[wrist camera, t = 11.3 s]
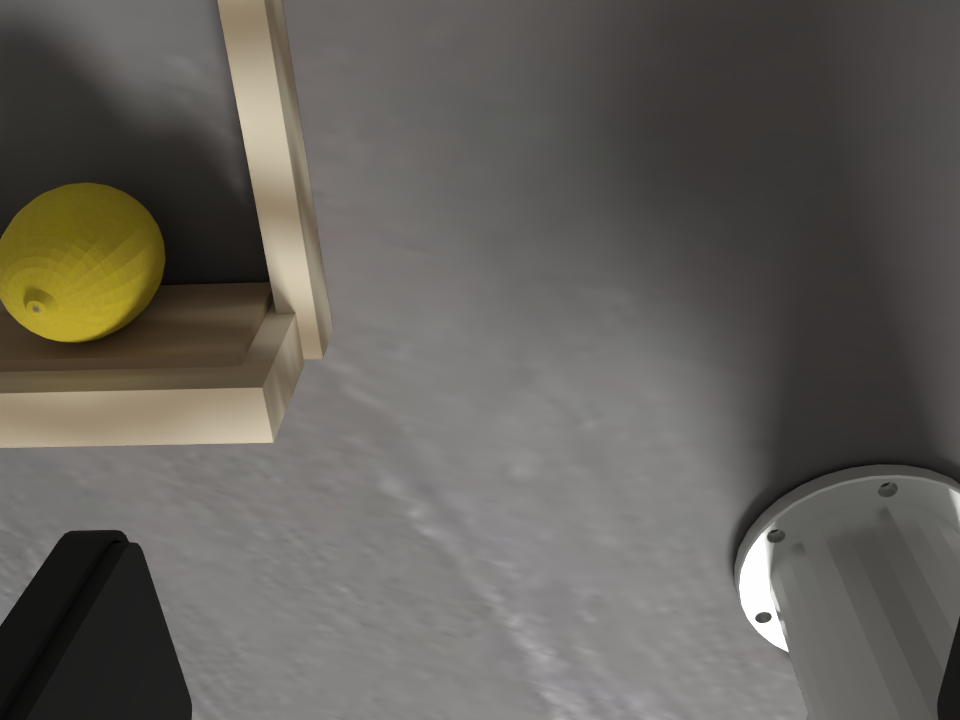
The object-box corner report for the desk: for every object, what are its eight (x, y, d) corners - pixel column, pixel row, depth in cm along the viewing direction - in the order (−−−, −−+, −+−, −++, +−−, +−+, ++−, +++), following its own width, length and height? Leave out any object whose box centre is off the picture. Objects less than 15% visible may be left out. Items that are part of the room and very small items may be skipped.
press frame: (333, 334, 40) (295, 442, 33) (-16, 343, 41) (-124, 450, 34) (213, -443, 27) (107, -532, 20) (-303, -403, 27) (-576, -474, 21)
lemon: (217, 248, 38) (150, 342, 31) (114, 299, 40) (28, 400, 33) (134, 132, 36) (42, 207, 29) (28, 191, 37) (-84, 276, 30)
